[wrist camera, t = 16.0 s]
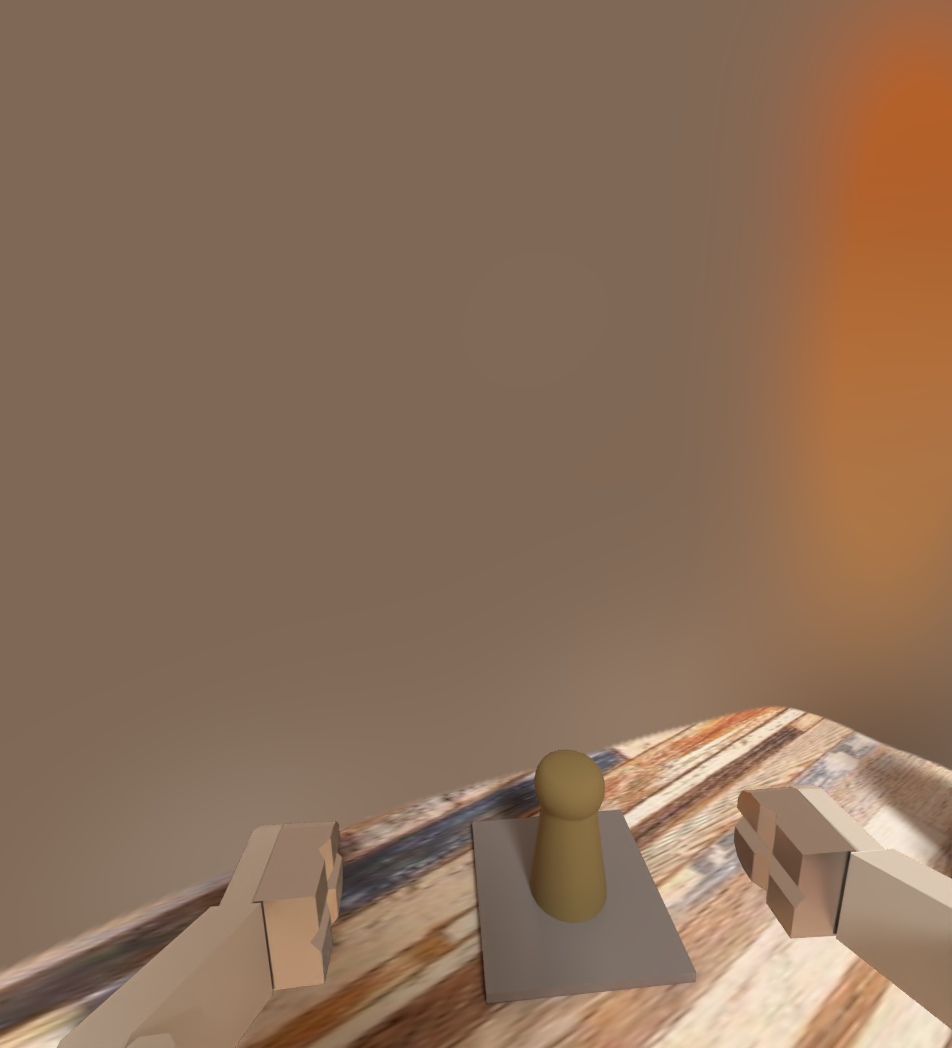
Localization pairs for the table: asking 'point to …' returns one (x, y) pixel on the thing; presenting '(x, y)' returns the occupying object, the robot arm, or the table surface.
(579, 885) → the cork
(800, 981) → the table surface
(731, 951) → the table surface
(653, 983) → the coaster
